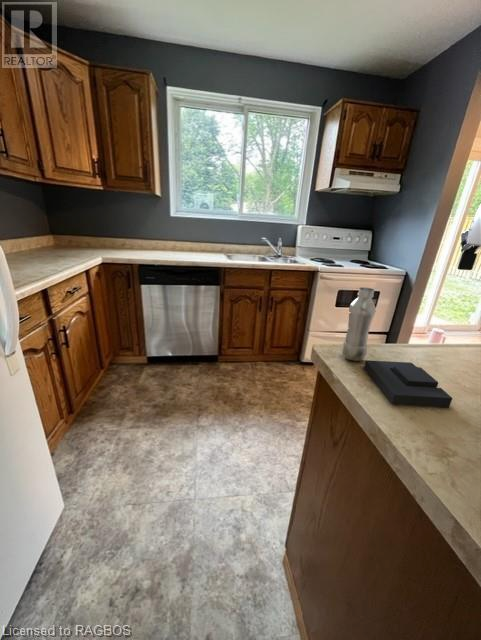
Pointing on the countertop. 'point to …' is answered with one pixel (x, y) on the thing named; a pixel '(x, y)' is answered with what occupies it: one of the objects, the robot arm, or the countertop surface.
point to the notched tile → (404, 387)
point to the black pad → (414, 376)
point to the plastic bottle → (359, 325)
